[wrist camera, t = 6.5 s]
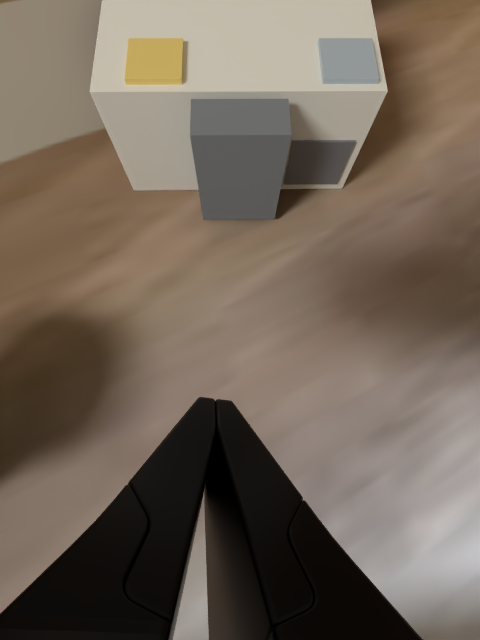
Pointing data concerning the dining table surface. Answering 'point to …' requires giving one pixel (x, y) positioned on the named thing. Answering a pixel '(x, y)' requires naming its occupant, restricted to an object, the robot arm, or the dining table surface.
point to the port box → (237, 80)
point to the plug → (239, 155)
